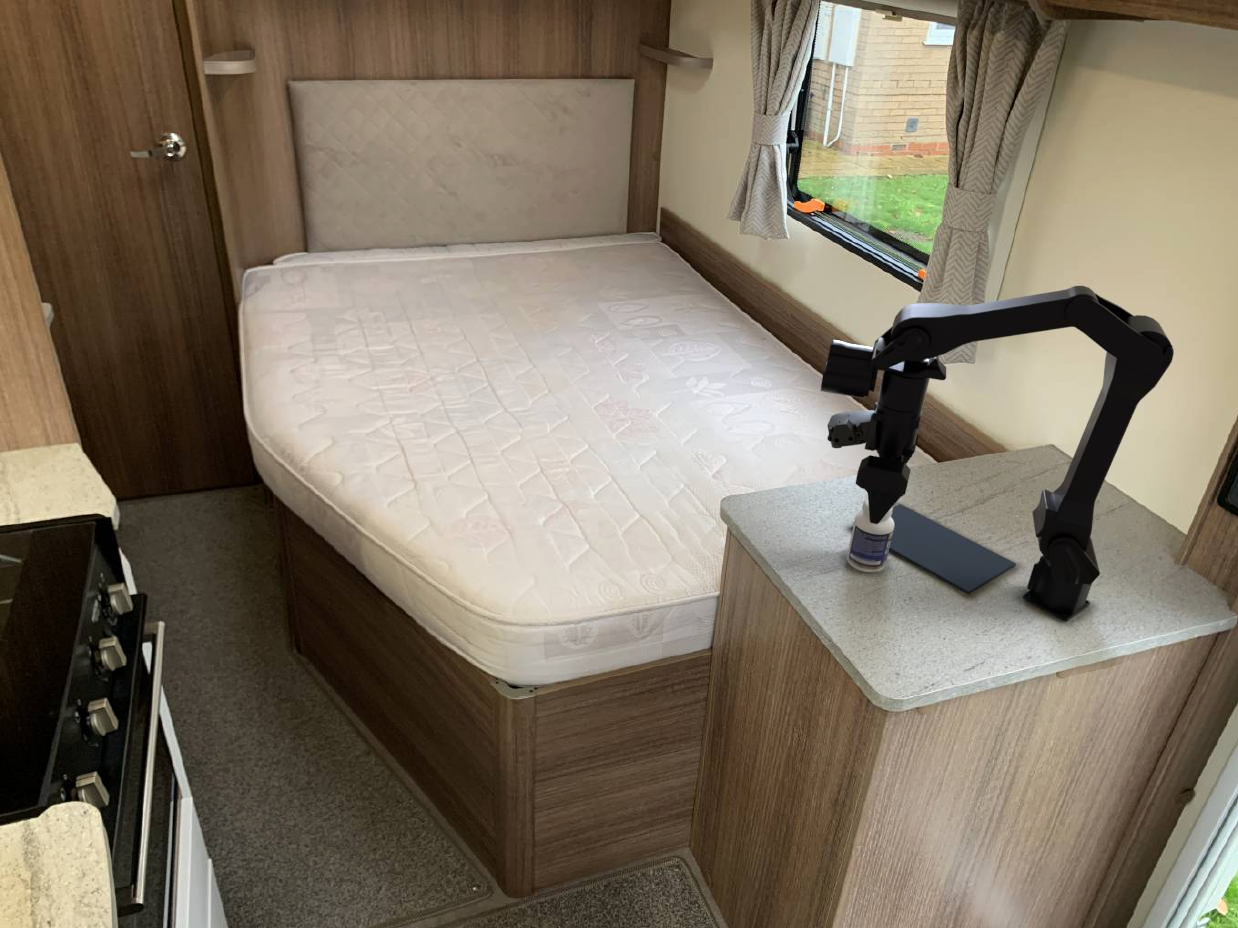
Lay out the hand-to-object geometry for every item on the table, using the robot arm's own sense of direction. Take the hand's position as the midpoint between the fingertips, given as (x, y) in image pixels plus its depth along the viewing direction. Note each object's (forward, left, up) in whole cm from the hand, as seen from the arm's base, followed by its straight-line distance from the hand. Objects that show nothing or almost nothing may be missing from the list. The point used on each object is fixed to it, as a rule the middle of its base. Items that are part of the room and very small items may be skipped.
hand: (878, 506), depth 130 cm
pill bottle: (0, 0, -9) cm, 9 cm away
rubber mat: (-3, -11, -9) cm, 15 cm away
